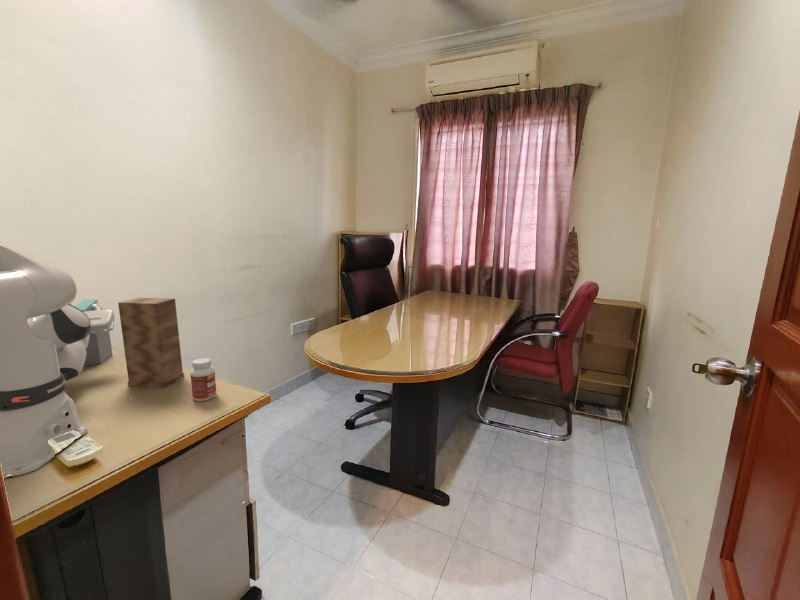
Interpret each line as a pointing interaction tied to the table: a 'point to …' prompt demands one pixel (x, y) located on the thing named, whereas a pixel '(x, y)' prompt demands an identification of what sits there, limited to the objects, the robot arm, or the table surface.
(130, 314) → the walnut shelf
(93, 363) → the riser
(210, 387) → the pill bottle
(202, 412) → the table surface
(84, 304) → the lid slat
